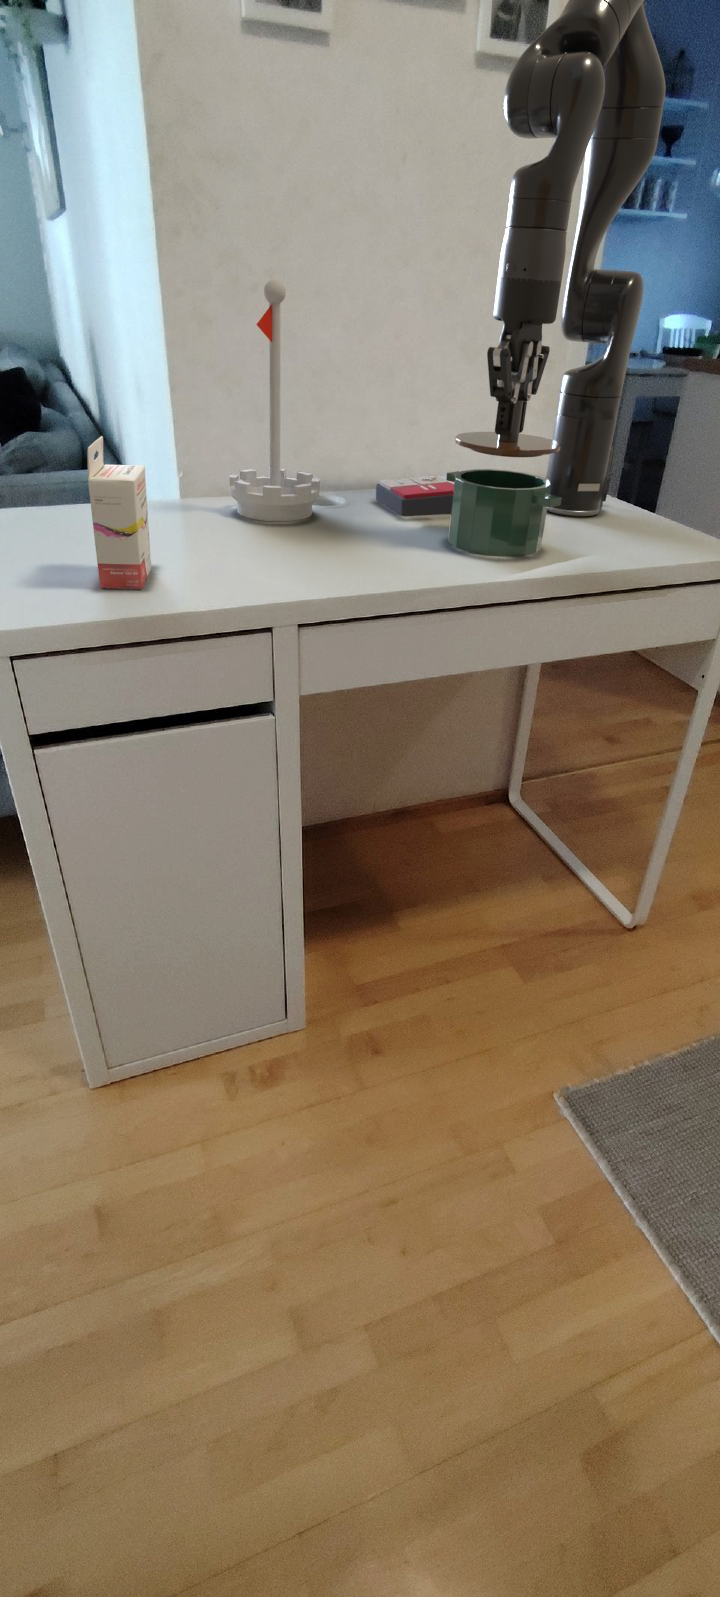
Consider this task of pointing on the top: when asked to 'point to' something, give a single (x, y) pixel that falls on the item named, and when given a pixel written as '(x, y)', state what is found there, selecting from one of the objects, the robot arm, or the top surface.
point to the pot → (498, 511)
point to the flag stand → (274, 443)
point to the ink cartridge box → (119, 521)
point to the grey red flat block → (416, 495)
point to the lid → (508, 441)
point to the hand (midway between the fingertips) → (508, 432)
